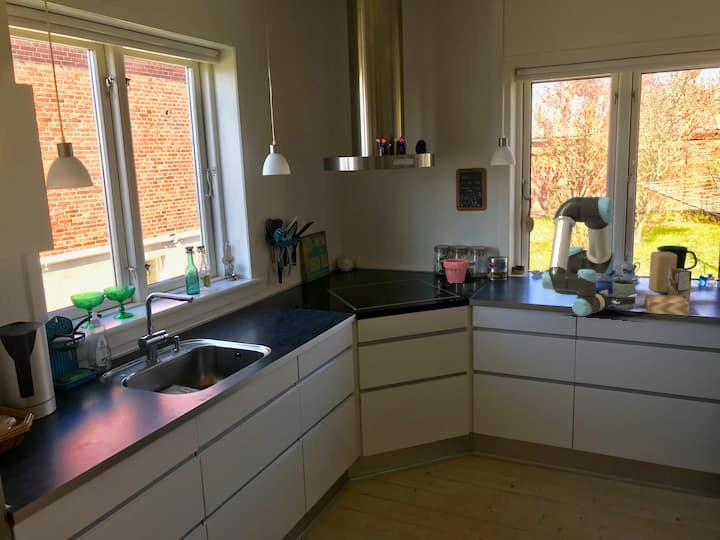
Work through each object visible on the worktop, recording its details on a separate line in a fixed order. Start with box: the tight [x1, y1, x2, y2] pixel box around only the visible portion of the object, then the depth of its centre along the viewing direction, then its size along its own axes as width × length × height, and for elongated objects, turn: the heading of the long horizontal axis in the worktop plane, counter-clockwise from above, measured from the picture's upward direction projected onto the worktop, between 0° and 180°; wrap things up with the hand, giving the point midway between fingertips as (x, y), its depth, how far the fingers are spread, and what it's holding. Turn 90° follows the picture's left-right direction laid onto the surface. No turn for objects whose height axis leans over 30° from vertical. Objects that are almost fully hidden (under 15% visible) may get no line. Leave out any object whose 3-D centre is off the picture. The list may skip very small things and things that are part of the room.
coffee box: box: [666, 267, 693, 304], centre depth 285 cm, size 9×6×16 cm
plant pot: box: [443, 258, 469, 284], centre depth 345 cm, size 14×14×13 cm
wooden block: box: [648, 251, 678, 294], centre depth 311 cm, size 10×10×20 cm
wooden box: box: [644, 294, 690, 316], centre depth 273 cm, size 16×16×5 cm
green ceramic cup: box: [611, 279, 637, 310], centre depth 280 cm, size 10×10×12 cm
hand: (621, 294), depth 278 cm, fingers open, 13 cm apart
